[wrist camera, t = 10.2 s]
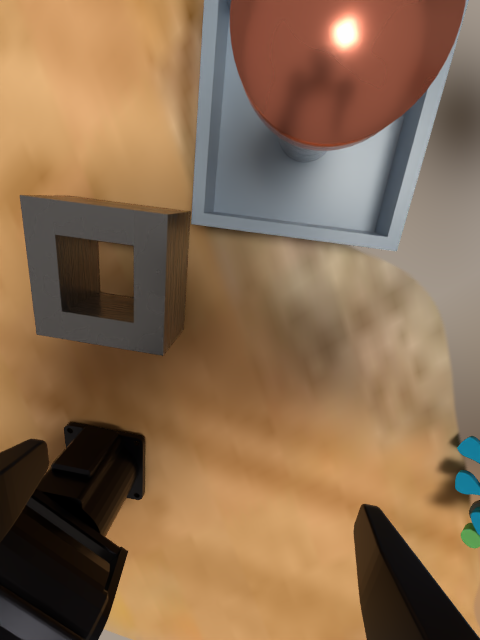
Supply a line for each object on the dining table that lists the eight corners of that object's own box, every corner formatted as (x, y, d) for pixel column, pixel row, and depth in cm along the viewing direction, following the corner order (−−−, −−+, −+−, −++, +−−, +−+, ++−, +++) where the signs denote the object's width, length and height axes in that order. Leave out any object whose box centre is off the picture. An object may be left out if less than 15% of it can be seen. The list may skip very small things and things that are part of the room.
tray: (380, 243, 18) (396, 251, 16) (204, 220, 19) (191, 224, 17) (440, 17, 15) (476, -25, 12) (220, 1, 16) (206, -43, 13)
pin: (341, 181, 17) (423, 154, 7) (258, 171, 17) (219, 132, 7) (361, 81, 16) (509, -146, 5) (270, 73, 16) (242, -155, 6)
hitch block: (183, 329, 22) (163, 355, 18) (77, 312, 23) (36, 334, 19) (190, 211, 19) (167, 214, 16) (69, 195, 20) (19, 195, 16)
